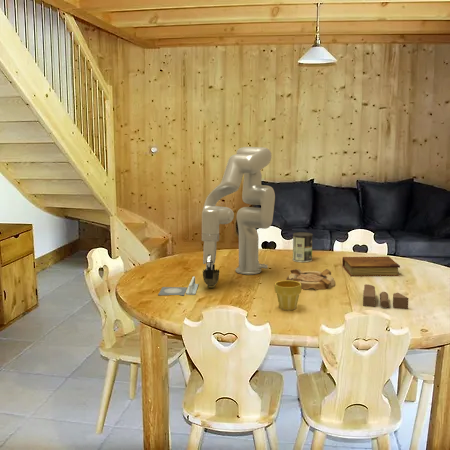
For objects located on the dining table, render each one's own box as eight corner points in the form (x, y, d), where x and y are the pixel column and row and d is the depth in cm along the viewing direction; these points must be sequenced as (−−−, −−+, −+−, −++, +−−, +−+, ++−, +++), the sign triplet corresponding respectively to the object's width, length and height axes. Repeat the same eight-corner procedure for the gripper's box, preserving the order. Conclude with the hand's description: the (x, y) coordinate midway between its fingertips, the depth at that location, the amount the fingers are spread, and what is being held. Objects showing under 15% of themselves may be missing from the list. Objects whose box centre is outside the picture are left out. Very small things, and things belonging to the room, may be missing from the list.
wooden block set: (363, 293, 216) (363, 281, 233) (362, 307, 217) (363, 294, 234) (408, 296, 212) (406, 283, 229) (408, 310, 213) (405, 296, 230)
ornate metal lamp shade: (217, 290, 238) (217, 272, 237) (201, 289, 240) (200, 272, 238) (221, 286, 246) (221, 268, 244) (205, 285, 247) (204, 267, 246)
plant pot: (272, 303, 221) (272, 280, 219) (297, 302, 222) (298, 279, 220) (276, 312, 211) (277, 287, 209) (303, 311, 212) (304, 286, 210)
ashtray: (298, 273, 266) (299, 263, 266) (345, 281, 253) (345, 270, 252) (273, 285, 247) (273, 274, 247) (322, 294, 234) (322, 283, 233)
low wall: (198, 285, 247) (198, 276, 246) (195, 294, 233) (195, 285, 232) (189, 285, 247) (189, 276, 246) (185, 294, 233) (185, 285, 233)
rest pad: (187, 288, 243) (187, 287, 243) (184, 295, 232) (184, 294, 232) (162, 287, 243) (162, 286, 243) (158, 295, 233) (158, 294, 232)
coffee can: (310, 257, 296) (311, 231, 294) (313, 262, 286) (314, 235, 284) (291, 257, 296) (291, 232, 294) (293, 262, 286) (293, 235, 284)
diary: (387, 267, 278) (388, 256, 277) (399, 277, 260) (400, 265, 259) (342, 267, 278) (342, 256, 277) (350, 277, 260) (351, 265, 259)
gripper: (203, 233, 247) (203, 270, 250) (199, 240, 230) (199, 280, 233) (220, 233, 247) (220, 271, 249) (217, 241, 230) (217, 281, 232)
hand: (210, 275), depth 241 cm, fingers open, 9 cm apart
